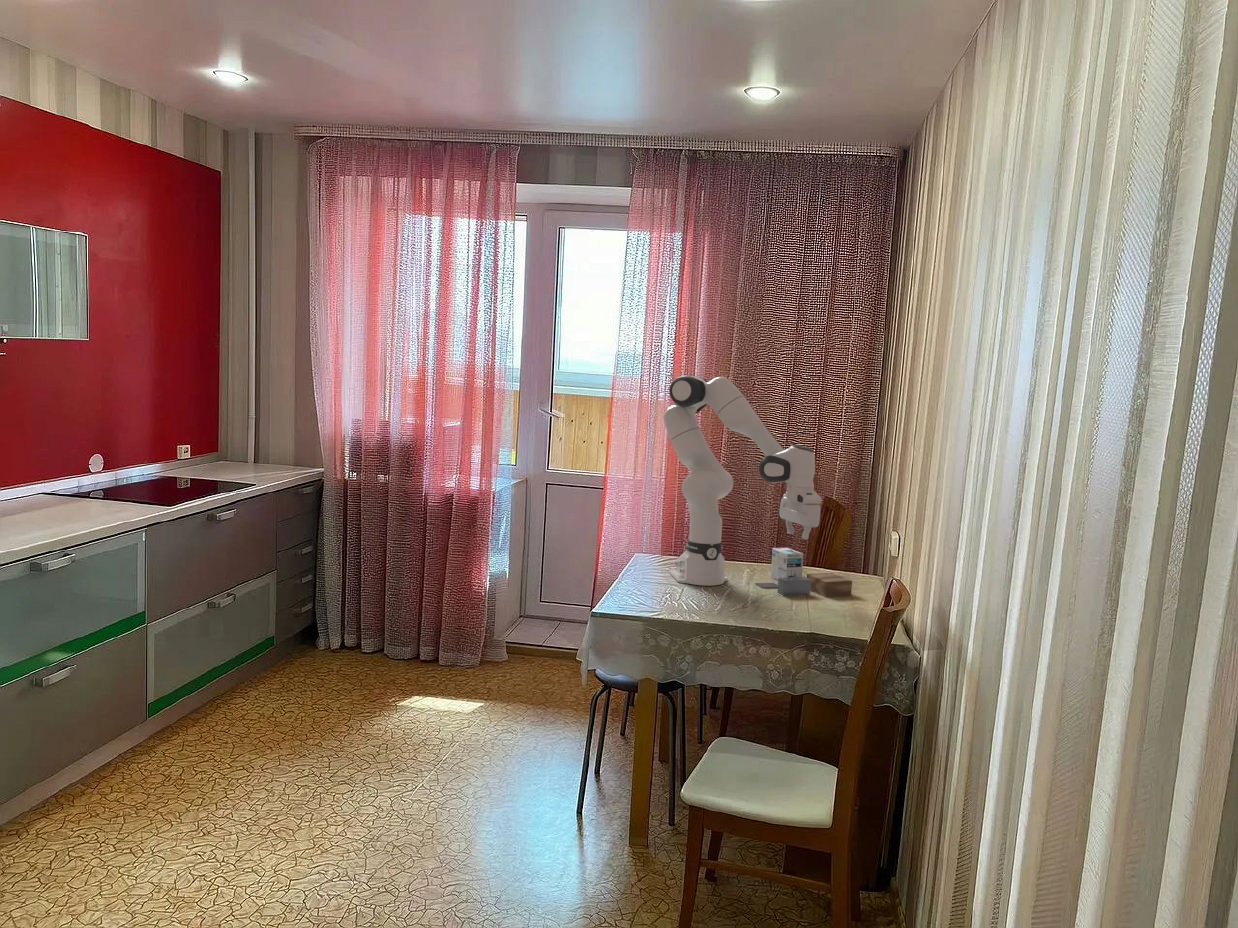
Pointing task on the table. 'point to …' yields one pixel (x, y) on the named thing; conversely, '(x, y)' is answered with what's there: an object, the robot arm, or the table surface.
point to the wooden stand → (830, 584)
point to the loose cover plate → (767, 585)
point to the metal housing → (794, 586)
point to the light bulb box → (786, 563)
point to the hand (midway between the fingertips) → (797, 536)
